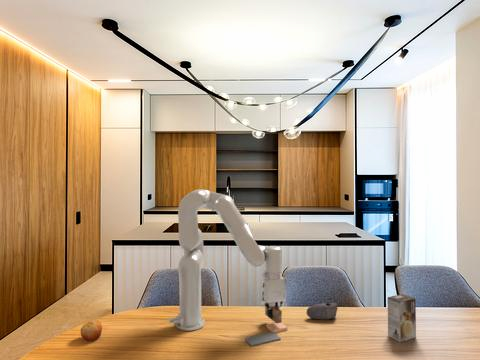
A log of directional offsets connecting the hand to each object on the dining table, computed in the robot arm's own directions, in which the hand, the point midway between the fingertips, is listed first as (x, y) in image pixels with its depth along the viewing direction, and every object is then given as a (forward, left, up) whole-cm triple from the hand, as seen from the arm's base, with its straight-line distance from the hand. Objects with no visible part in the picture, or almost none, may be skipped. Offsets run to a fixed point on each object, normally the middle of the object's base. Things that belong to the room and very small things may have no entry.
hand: (273, 316), depth 144 cm
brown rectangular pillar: (0, 0, -1) cm, 1 cm away
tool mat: (-10, -9, -4) cm, 14 cm away
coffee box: (+43, -30, -4) cm, 53 cm away
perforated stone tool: (+25, -3, -4) cm, 25 cm away
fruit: (-73, +20, -4) cm, 76 cm away
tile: (0, 0, -4) cm, 4 cm away
